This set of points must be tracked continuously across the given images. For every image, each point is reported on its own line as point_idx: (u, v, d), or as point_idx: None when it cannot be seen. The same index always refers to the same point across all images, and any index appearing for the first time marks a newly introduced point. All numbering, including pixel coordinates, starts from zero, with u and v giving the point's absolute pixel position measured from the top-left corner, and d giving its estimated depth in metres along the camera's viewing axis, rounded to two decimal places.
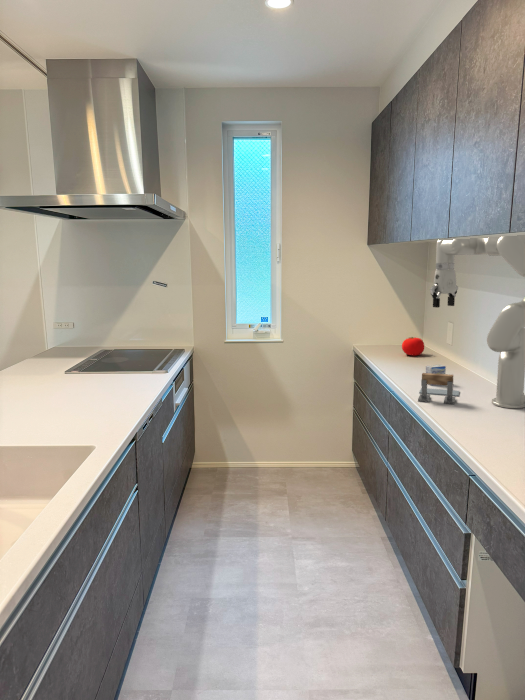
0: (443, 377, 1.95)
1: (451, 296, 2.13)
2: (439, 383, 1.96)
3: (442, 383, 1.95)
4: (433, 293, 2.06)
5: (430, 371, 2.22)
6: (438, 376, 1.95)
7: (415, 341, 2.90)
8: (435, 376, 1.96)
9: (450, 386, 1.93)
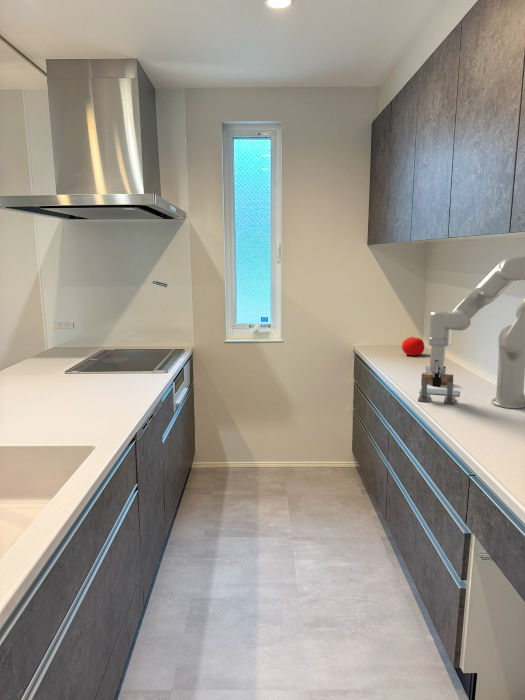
0: (443, 377, 1.95)
1: None
2: None
3: (442, 383, 1.95)
4: None
5: (430, 371, 2.22)
6: None
7: (415, 341, 2.90)
8: None
9: (450, 386, 1.93)
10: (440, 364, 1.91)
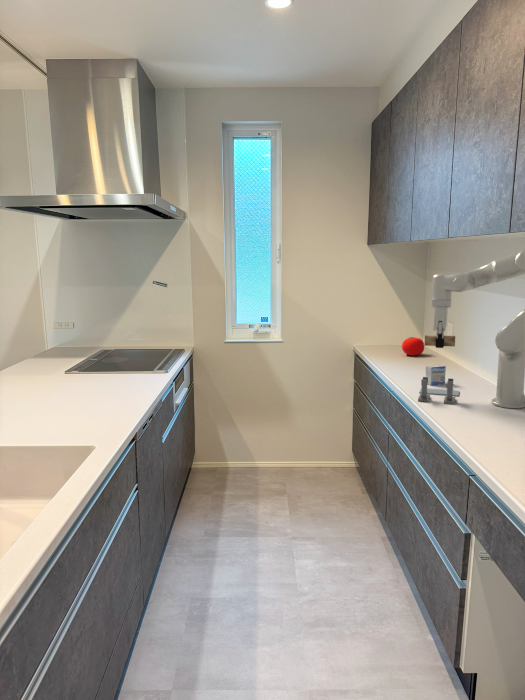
0: (446, 338, 2.00)
1: None
2: None
3: (444, 344, 2.01)
4: None
5: (430, 371, 2.22)
6: None
7: (415, 341, 2.90)
8: None
9: (450, 386, 1.93)
10: (443, 325, 1.96)
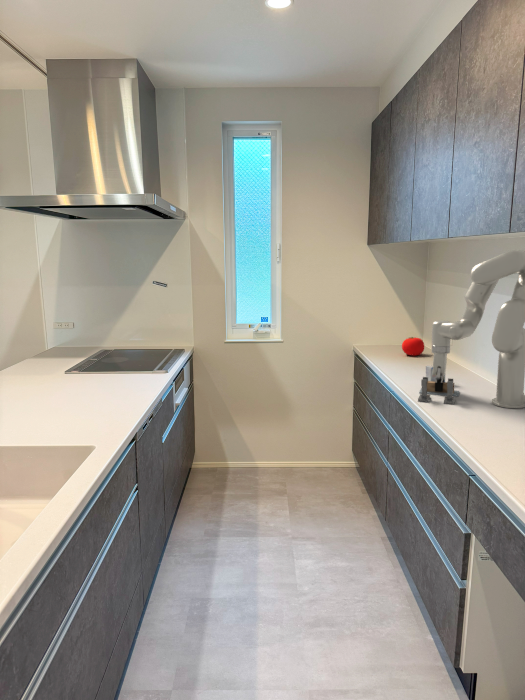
0: (445, 385, 2.07)
1: None
2: None
3: (444, 391, 2.08)
4: None
5: (430, 371, 2.22)
6: None
7: (415, 341, 2.90)
8: None
9: (450, 386, 1.93)
10: (442, 370, 2.03)
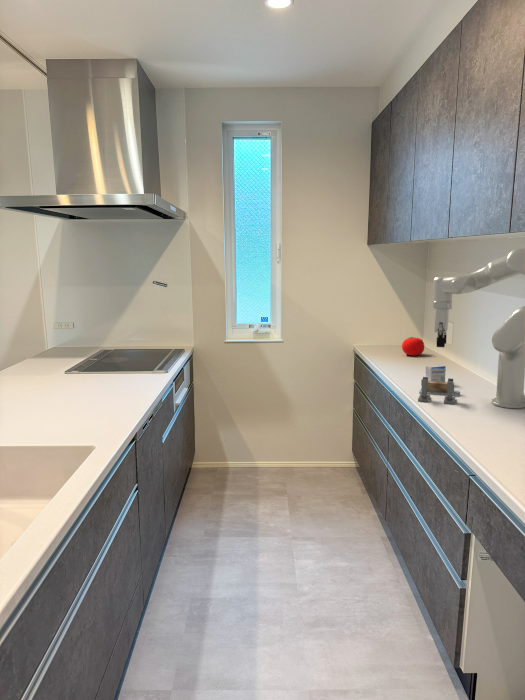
0: (445, 385, 2.07)
1: None
2: (441, 391, 2.08)
3: (444, 391, 2.08)
4: None
5: (430, 371, 2.22)
6: (440, 384, 2.08)
7: (415, 341, 2.90)
8: (437, 384, 2.09)
9: (450, 386, 1.93)
10: (444, 326, 2.00)
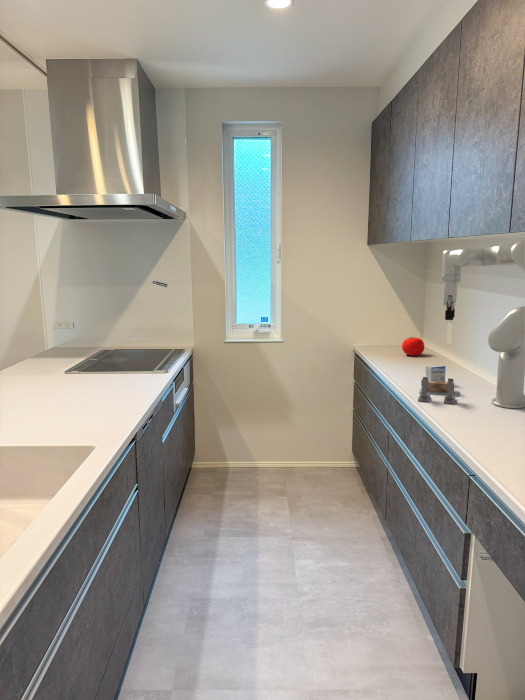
0: (445, 385, 2.07)
1: None
2: (441, 391, 2.08)
3: (444, 391, 2.08)
4: None
5: (430, 371, 2.22)
6: (440, 384, 2.08)
7: (415, 341, 2.90)
8: (437, 384, 2.09)
9: (450, 386, 1.93)
10: (453, 299, 2.01)
